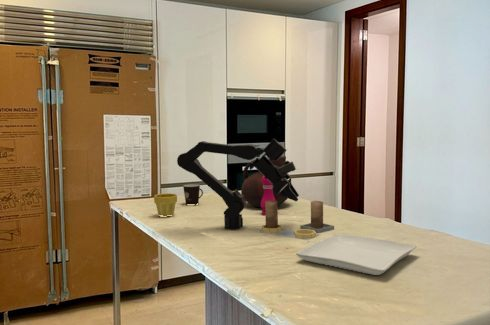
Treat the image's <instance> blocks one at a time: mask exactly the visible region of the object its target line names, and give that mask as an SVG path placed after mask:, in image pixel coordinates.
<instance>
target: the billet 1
mask: <svg viewBox="0 0 490 325" xmlns="http://www.w3.org/2000/svg"><path fill="white" fill-rule="evenodd" d="M278 206H279V205H278V203H277V201H274V200H270V201H265V215H264V216H265V225H266V228H278V225H279V224H278V223H279V222H278V221H279V218H278V217H279V214H278V213H279V211H278Z"/></svg>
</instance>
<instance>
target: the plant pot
mask: <svg viewBox="0 0 490 325" xmlns="http://www.w3.org/2000/svg"><path fill="white" fill-rule="evenodd" d="M153 202H154V204H155V206H156V209H157V210H156V211H157V214H158V216H159V215H163V216H167V215H173V214H175V208H176V204H177V202H178V194H176V193H171V192H170V193H167V192H166V193H165V192H164V193H157V194H155V195H154V196H153ZM173 216H174V215H173Z"/></svg>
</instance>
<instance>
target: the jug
mask: <svg viewBox="0 0 490 325" xmlns="http://www.w3.org/2000/svg"><path fill="white" fill-rule="evenodd" d="M267 159H268V160H269V161H271V162H272V163H273V164H274V165H275V166H278V167H279V168H280V167H282V166H284V162H286V161H287V160H286V159H287V156H285V155H282V156H281V157H280V158H279V159H278V160H277V161H276V160H273V161H272V160H270V159H269V158H267ZM254 160H255V159H252V160H250V162H253V161H254ZM249 169H250V165H249V163H247V164H246V165H245V166H244V168H243V171H242V174H243V175H242V176H243V183H242V186H241V190H240V191H241V192H240V193H241V194H242V195H244V198H245V199H246V203H248V204H249V205H251V206H253V207H256V208H262V207H261V200H262V198H263V195H264V188H263V185H264V184H263V183H262V177H263V175H262V174H261V173H260V172H259V171H258V172H254V173H252V174H251V175H249V172H248V171H249ZM279 192H280V191H279ZM279 192H278V193H279ZM278 193H277V194H275V193H274V192H273V195H274V198H275V200H276V201H277V203H278V206H280V205H282V204H283V203H285V202H286V201H287V200H288V199H289V198H286V197H283V196H281V195H278Z"/></svg>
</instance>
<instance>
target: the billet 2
mask: <svg viewBox="0 0 490 325" xmlns="http://www.w3.org/2000/svg"><path fill="white" fill-rule="evenodd" d="M310 223H311V228H315V229H320V228H324V227H323V223H324V201H321V200H313V201H310Z"/></svg>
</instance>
